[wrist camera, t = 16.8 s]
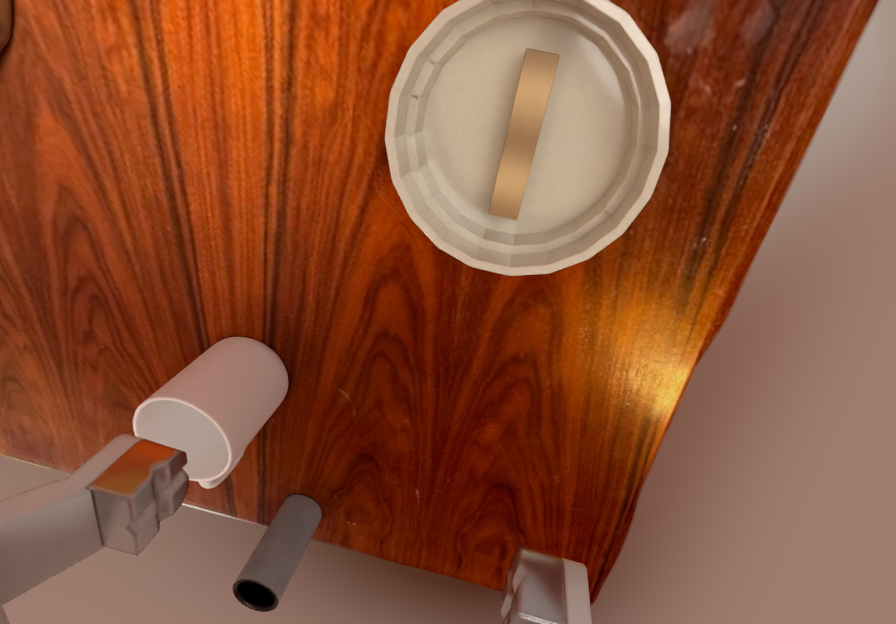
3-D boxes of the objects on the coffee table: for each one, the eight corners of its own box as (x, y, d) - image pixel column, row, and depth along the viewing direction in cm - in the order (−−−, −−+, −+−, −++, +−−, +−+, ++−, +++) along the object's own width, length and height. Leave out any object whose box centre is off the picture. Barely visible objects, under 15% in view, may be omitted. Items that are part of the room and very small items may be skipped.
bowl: (688, 23, 29) (721, 11, 24) (601, 268, 37) (612, 300, 31) (429, -27, 30) (406, -50, 25) (395, 220, 38) (371, 243, 32)
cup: (289, 341, 45) (225, 408, 36) (295, 442, 50) (241, 522, 41) (205, 327, 45) (122, 388, 36) (220, 427, 51) (151, 502, 42)
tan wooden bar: (527, 50, 31) (526, 47, 28) (558, 56, 31) (560, 54, 28) (491, 203, 35) (488, 213, 33) (518, 209, 35) (517, 220, 33)
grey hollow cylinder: (321, 528, 55) (277, 617, 46) (283, 517, 55) (232, 604, 46) (324, 500, 53) (278, 588, 44) (284, 489, 53) (231, 574, 44)
